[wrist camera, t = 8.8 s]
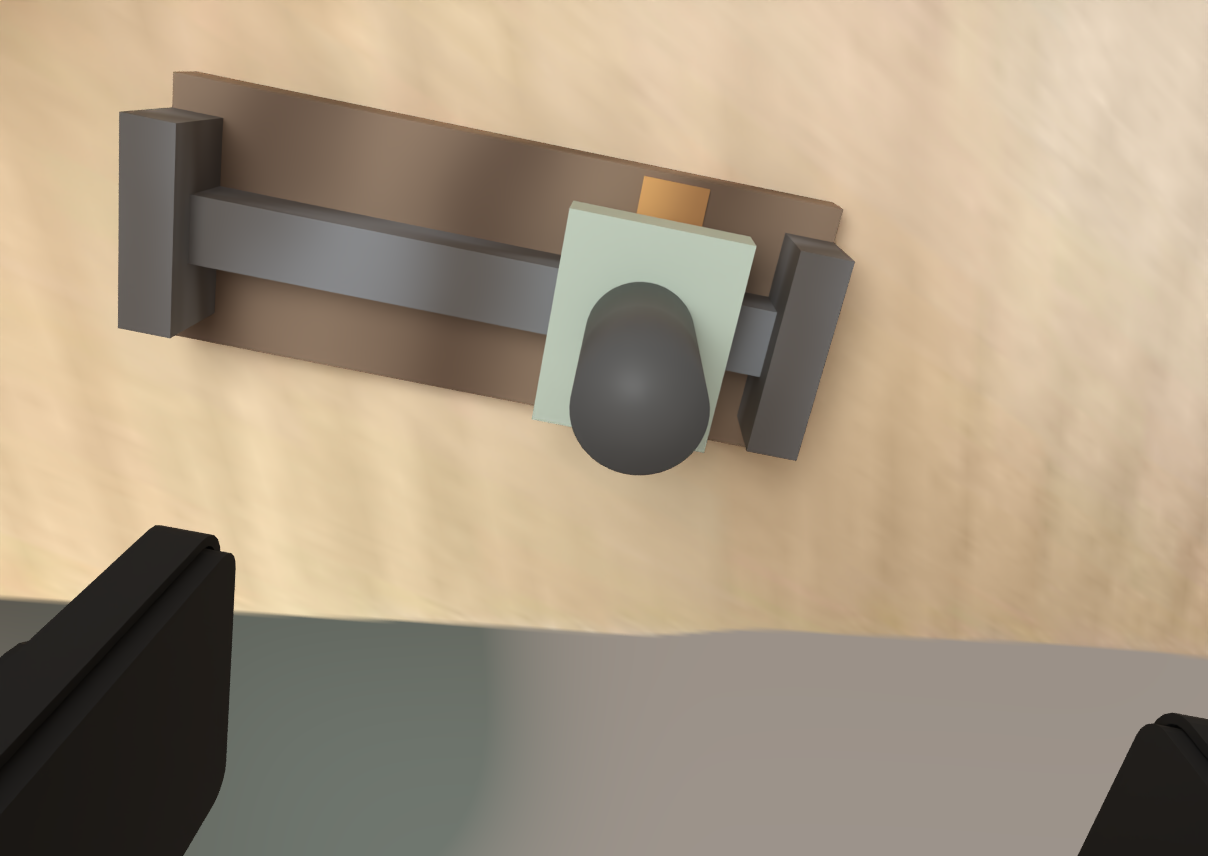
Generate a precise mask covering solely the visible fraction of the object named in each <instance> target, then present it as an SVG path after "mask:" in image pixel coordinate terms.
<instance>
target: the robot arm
mask: <svg viewBox="0 0 1208 856" xmlns="http://www.w3.org/2000/svg"><path fill="white" fill-rule="evenodd" d="M235 570H236V568H235V558H234V556H233V555H232V554H231V553H227V552H222V551H220V545H219V541H218V539H217V538H216V537H215V536H214V535H210V534H205V533H199V532H194V531H189V530H183V529H178V528H172V527H167V526H162V525H155V526H154V527H152V528H151V529H149V530H148V531H147V532H146V533H145V534H144V535H143V536H141V537H140V538H139V539H138V540H137V541H136V542H135V543H134V544H133V545H132V546H131V547H130V548H128V549H127V550H126V551H125V552H124V553H123V554H122V555H121V556H120V557H119V558H118V559H117V560H116V561H114V562H113V563H112V564H111V565H110V566H109V567H108V568H107V569H106V570H105V571H104V572H103V573H101V574H100V575H99V576H98V577H97V578H96V579H95V580H94V581H93V582H92V583H91V584H90V585H88V586H87V587H86V588H85V589H84V590H83V591H82V592H81V593H80V594H79V595H78V596H77V597H76V598H74V599H73V600H72V601H71V602H70V603H69V604H68V605H67V606H66V607H65V608H64V609H63V610H61V611H60V612H59V613H58V614H57V615H56V616H55V617H54V618H53V619H52V620H51V621H50V622H49V623H47V624H46V625H45V626H44V627H43V628H42V629H41V630H40V631H39V632H38V633H37V634H36V635H34V636H33V637H32V638H31V640H29V641H27V642H22V643H19V644H17V645H16V646H15V647H14V648H12V649H10V650H9V651H8V652H6V653H5V654H4V655H3V656H1V657H0V856H183V855H184V853H185V852H186V850H187V848H188V847H189V845H190V843H191V842H192V840H193V838H194V836H195V835H196V833H197V831H198V830H199V828H200V826H201V825H202V823H203V821H204V819H205V818H206V816H207V814H208V813H209V811H210V809H211V808H212V806H213V804H214V802H215V800H216V798H217V796H218V793H219V791H220V787H221V785H222V781H223V778H224V773H225V767H226V753H227V732H228V711H229V691H230V670H231V651H232V630H233V610H234V590H235ZM1078 856H1208V719H1204V718H1198V717H1193V716H1188V715H1182V714H1177V713H1168V714H1164V715H1162V716H1161V717H1160V718H1158V719H1157V720H1156V721H1155V723H1154V724H1147V725H1145V726H1144V727H1142V728H1141V729H1140V731H1139V732H1138V734H1137V735H1136V737H1135V739H1134V741H1133V743H1132V745H1131V748H1130V749H1129V752H1128V753H1127V755H1126V758H1125V760H1124V762H1123V764H1122V766H1121V768H1120V770H1119V772H1118V774H1117V776H1116V778H1115V780H1114V782H1113V784H1112V786H1111V788H1110V790H1109V792H1108V794H1107V797H1106V799H1105V801H1104V803H1103V805H1102V807H1101V809H1100V811H1099V813H1098V815H1097V817H1096V819H1095V821H1094V824H1093V825H1092V827H1091V829H1090V831H1089V834H1088V836H1087V838H1086V840H1085V842H1084V844H1083V846H1082V848H1081V850H1080V852H1079V854H1078Z"/></svg>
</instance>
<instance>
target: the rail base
mask: <svg viewBox="0 0 1208 856" xmlns="http://www.w3.org/2000/svg"><path fill="white" fill-rule="evenodd" d="M573 201H578V202H583V203H588V204H593V205H598V206H602V207H607V208H612V209H617V210H622V211H627V212H632V213H637V214H642V215H647V216H651V217H656V218H661V219H666V220H671V221H676V222H681V223H686V224H691V225H696V226H700V227H705V228H710V229H715V230H720V231H725V232H730V233H735V234H740V235H745V236H749V237H751V238H752V240H753V242H754V243H755V245H756V250H755V254H754V258H753V262H752V266H751V270H750V274H749V278H748V282H747V286H746V290H745V294H744V298H743V301H742V305H741V309H740V313H739V317H738V321H737V325H736V329H735V333H734V337H733V341H732V345H731V349H730V353H729V357H728V361H727V364H726V368H725V372H724V376H723V380H722V384H721V388H720V392H719V396H718V400H717V404H716V408H715V412H714V416H713V420H712V424H711V428H710V431H709V435H708V439H707V440H712V441H717V442H722V443H728V444H733V445H738V446H743V447H746V451H749V452H754V453H759V454H764V455H769V456H774V457H779V458H784V459H789V460H794V461H796V460H797V457H798V453H799V450H800V447H801V443H802V440H803V436H804V433H805V430H806V426H807V423H808V419H809V416H810V413H811V409H812V406H813V402H814V399H815V396H816V392H817V389H818V385H819V382H820V379H821V375H822V372H823V368H824V365H825V362H826V358H827V355H828V351H829V348H830V345H831V341H832V338H833V334H834V331H835V328H836V324H837V321H838V317H839V314H840V311H841V307H842V304H843V300H844V297H845V294H846V290H847V287H848V283H849V280H850V277H851V273H852V270H853V266H854V263H855V261H853V260H852V259H851V258H850V257H849V256H848V255H847V254H846V253H845V252H844V251H842V250H841V249H840V248H839V247H838V246H837V245H836V244H835V243H834V240H835V236H836V233H837V229H838V226H839V222H840V219H841V215H842V212H843V209H842V208H840V207H839V206H837V205H836V204H834V203H832V202H827V201H822V200H817V199H813V198H808V197H803V196H798V195H793V194H788V193H783V192H779V191H774V190H769V189H764V188H759V187H754V186H749V185H745V184H740V183H735V182H730V181H725V180H720V179H715V178H711V177H706V176H701V175H696V174H691V173H686V172H682V171H677V170H672V169H667V168H662V167H657V166H652V165H648V164H643V163H638V162H633V161H628V160H623V159H618V158H614V157H609V156H604V155H599V154H594V153H589V152H584V151H580V150H575V149H570V148H565V147H560V146H555V145H550V144H546V143H541V142H536V141H531V140H526V139H521V138H516V137H512V136H507V135H502V134H497V133H492V132H487V131H482V130H478V129H473V128H468V127H463V126H458V125H453V124H448V123H444V122H439V121H434V120H429V119H424V118H419V117H414V116H410V115H405V114H400V113H395V112H390V111H385V110H380V109H376V108H371V107H366V106H361V105H356V104H351V103H346V102H342V101H337V100H332V99H327V98H322V97H317V96H312V95H308V94H303V93H298V92H293V91H288V90H283V89H278V88H274V87H269V86H264V85H259V84H254V83H249V82H244V81H240V80H235V79H230V78H225V77H220V76H215V75H210V74H206V73H201V72H173V105H172V108H159V109H147V110H135V111H123V112H119V262H118V328H121V329H126V330H131V331H136V332H141V333H146V334H151V335H156V336H161V337H167V338H171V337H173V336H175V335H177V336H182V337H187V338H192V339H197V340H202V341H207V342H212V343H217V344H223V345H228V346H233V347H238V348H243V349H248V350H253V351H258V352H263V353H268V354H274V355H279V356H284V357H289V358H294V359H299V360H304V361H309V362H314V363H319V364H325V365H330V366H335V367H340V368H345V369H350V370H355V371H360V372H365V373H370V374H376V375H381V376H386V377H391V378H396V379H401V380H406V381H411V382H416V383H422V384H427V385H432V386H437V387H442V388H447V389H452V390H457V391H462V392H467V393H473V394H478V395H483V396H488V397H493V398H498V399H503V400H508V401H513V402H518V403H524V404H529V405H534V404H535V399H536V393H537V387H538V382H539V376H540V371H541V365H542V359H543V354H544V348H545V343H546V337H547V331H548V326H549V320H550V315H551V309H552V303H553V298H554V292H555V287H556V281H557V275H558V270H559V264H560V259H561V253H562V247H563V242H564V236H565V231H566V225H567V219H568V214H569V208H570V206H571V204H572V202H573Z"/></svg>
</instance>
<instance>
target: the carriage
mask: <svg viewBox="0 0 1208 856" xmlns="http://www.w3.org/2000/svg"><path fill="white" fill-rule="evenodd" d="M755 250H756V245H755V243H754V242H753V240H752V238H751V237H749V236H745V235H740V234H735V233H730V232H725V231H720V230H715V229H710V228H705V227H700V226H696V225H691V224H686V223H681V222H676V221H671V220H666V219H661V218H656V217H651V216H647V215H642V214H637V213H632V212H627V211H622V210H617V209H612V208H607V207H602V206H598V205H593V204H588V203H583V202H578V201H573V202H572V204H571V206H570V208H569V214H568V219H567V225H566V231H565V236H564V242H563V247H562V253H561V259H560V264H559V270H558V275H557V281H556V287H555V292H554V298H553V303H552V309H551V315H550V320H549V326H548V331H547V337H546V343H545V348H544V354H543V359H542V365H541V371H540V376H539V382H538V387H537V393H536V399H535V404H534V410H533V415H532V419H533V420H538V421H544V422H549V423H554V424H559V425H564V426H569V427H572V429H573V432H574V434H575V436H576V438H577V440H578V442H579V443H580V445H581V446H582V448H583V449H584V450H585V451H586V452H587V454H589V455H590V456H591V457H592V458H593V459H594V460H595V461H597V462H598V463H600V464H601V465H603V466H605V467H607V468H609V469H611V470H614V471H616V472H620V473H624V474H630V475H650V474H655V473H660V472H663V471H666V470H668V469H671V468H672V467H674V466H676V465H678V464H680V463H681V462H682V461H684V460H685V459H686V458H687V457H689V456H690V455H691V454H692V453H693V451H697V452H702V453H704V451H705V447H706V443H707V439H708V435H709V431H710V428H711V424H712V420H713V416H714V412H715V408H716V404H717V400H718V396H719V392H720V388H721V384H722V380H723V376H724V372H725V368H726V364H727V361H728V357H729V353H730V349H731V345H732V341H733V337H734V333H735V329H736V325H737V321H738V317H739V313H740V309H741V305H742V301H743V298H744V294H745V290H746V286H747V282H748V278H749V274H750V270H751V266H752V262H753V258H754V254H755Z"/></svg>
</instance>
